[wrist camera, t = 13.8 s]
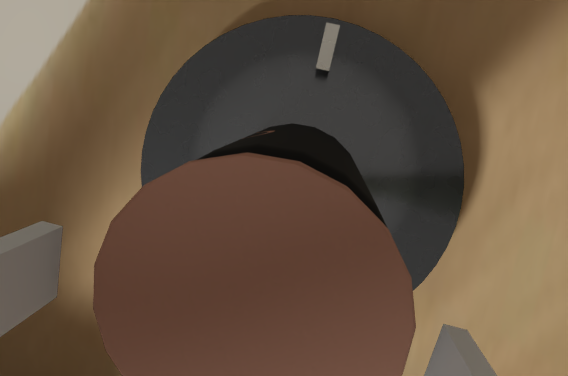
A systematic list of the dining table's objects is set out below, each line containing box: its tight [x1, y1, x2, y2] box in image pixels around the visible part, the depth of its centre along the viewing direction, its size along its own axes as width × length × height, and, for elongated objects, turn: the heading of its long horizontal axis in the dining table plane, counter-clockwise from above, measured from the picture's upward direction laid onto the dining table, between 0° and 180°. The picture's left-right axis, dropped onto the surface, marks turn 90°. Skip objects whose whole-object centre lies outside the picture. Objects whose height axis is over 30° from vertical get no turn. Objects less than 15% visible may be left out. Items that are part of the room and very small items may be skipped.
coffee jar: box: [93, 123, 416, 376], centre depth 20 cm, size 11×11×18 cm
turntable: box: [141, 15, 464, 290], centre depth 28 cm, size 26×26×7 cm
